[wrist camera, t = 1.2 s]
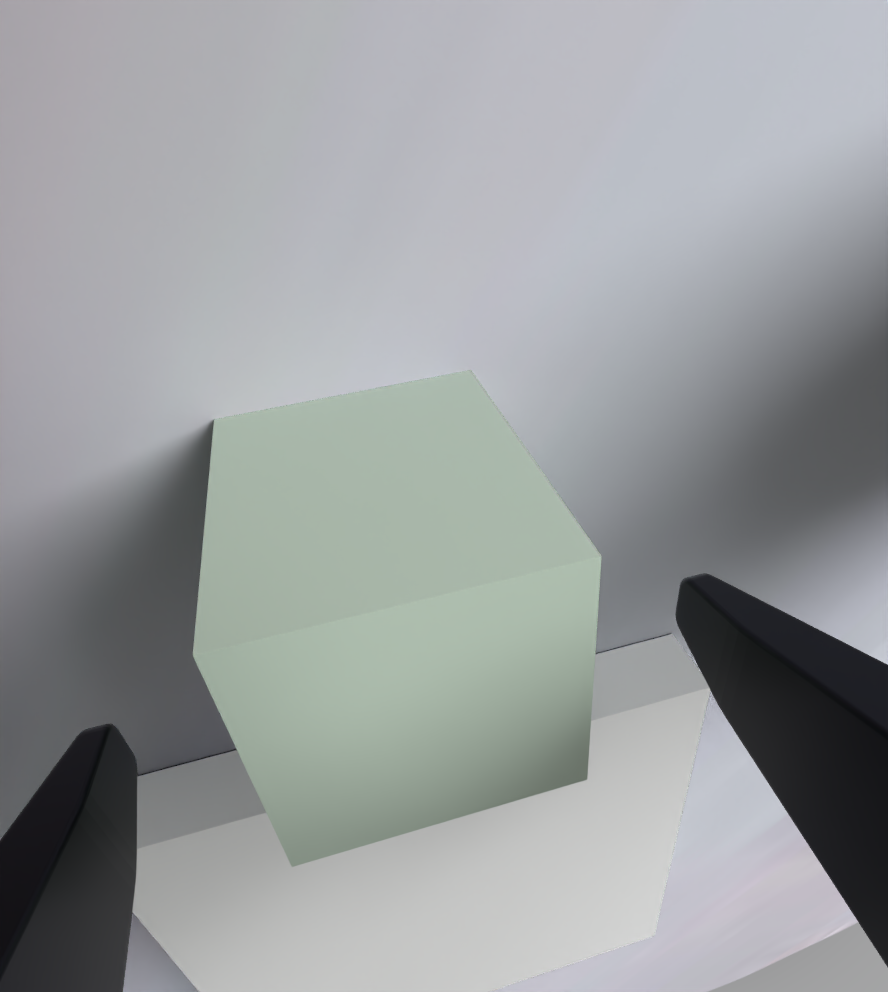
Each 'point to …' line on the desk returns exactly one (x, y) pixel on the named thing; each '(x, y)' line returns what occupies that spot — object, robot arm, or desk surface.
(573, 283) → the desk surface
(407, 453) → the sage block
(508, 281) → the desk surface
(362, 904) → the base plate
